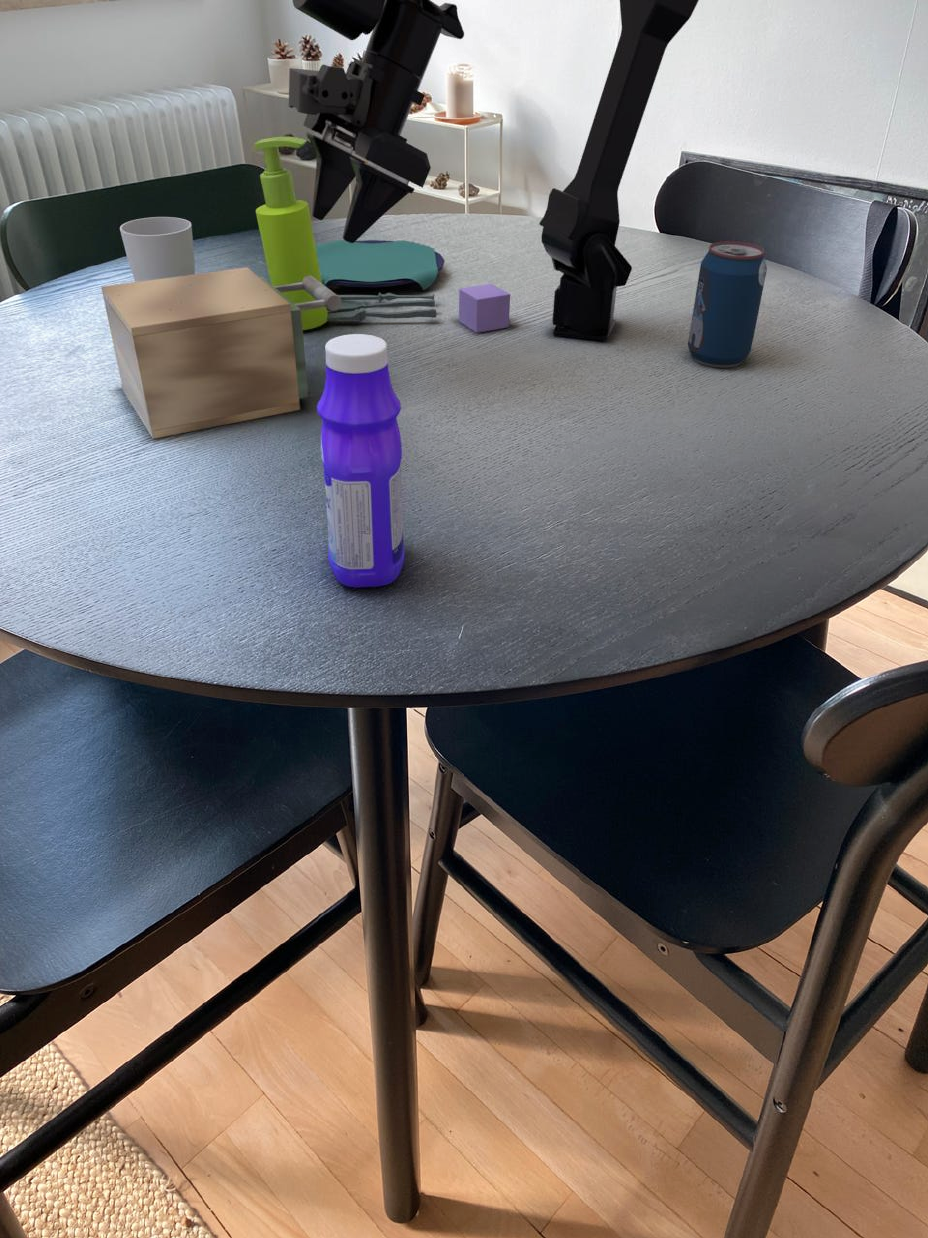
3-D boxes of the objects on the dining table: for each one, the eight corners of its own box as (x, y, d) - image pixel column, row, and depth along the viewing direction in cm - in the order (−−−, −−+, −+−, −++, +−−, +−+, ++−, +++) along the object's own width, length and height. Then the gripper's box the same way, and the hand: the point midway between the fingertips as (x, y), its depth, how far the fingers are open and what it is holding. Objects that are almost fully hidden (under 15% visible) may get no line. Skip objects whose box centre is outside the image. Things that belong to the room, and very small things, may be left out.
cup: (216, 304, 119) (204, 220, 113) (180, 325, 113) (166, 238, 107) (160, 296, 121) (146, 214, 115) (122, 316, 115) (105, 230, 109)
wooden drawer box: (259, 366, 103) (247, 266, 97) (300, 409, 95) (290, 303, 88) (122, 390, 98) (100, 286, 91) (152, 439, 89) (130, 327, 83)
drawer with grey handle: (314, 350, 105) (307, 268, 99) (354, 388, 97) (349, 300, 91) (145, 380, 98) (128, 292, 92) (174, 423, 90) (157, 330, 84)
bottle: (331, 543, 75) (313, 324, 64) (403, 540, 75) (397, 323, 65) (328, 596, 69) (308, 365, 58) (406, 593, 69) (401, 364, 59)
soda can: (759, 358, 107) (782, 248, 100) (728, 375, 103) (749, 261, 96) (706, 342, 111) (725, 235, 104) (674, 358, 107) (690, 247, 100)
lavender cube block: (490, 315, 117) (491, 283, 115) (509, 327, 114) (510, 293, 112) (458, 321, 116) (458, 288, 113) (476, 333, 113) (477, 299, 110)
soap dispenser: (327, 330, 111) (294, 143, 99) (272, 331, 112) (232, 146, 100) (342, 311, 115) (312, 130, 103) (289, 312, 117) (253, 134, 105)
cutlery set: (441, 253, 138) (441, 236, 137) (452, 325, 115) (453, 306, 113) (304, 253, 137) (302, 237, 136) (286, 326, 113) (284, 307, 112)
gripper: (285, 12, 90) (231, 175, 96) (354, 31, 77) (286, 220, 83) (384, 68, 97) (328, 219, 103) (463, 95, 84) (393, 266, 89)
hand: (331, 229), depth 94 cm, fingers open, 9 cm apart
